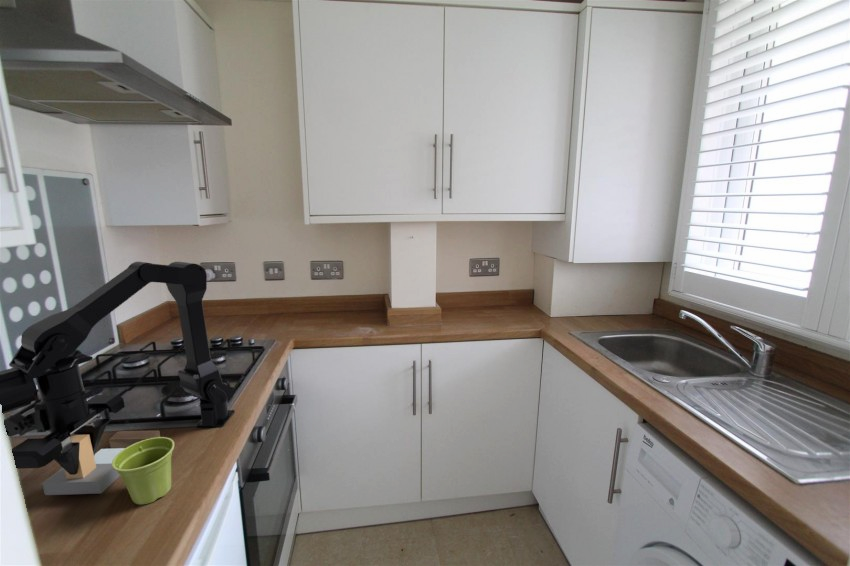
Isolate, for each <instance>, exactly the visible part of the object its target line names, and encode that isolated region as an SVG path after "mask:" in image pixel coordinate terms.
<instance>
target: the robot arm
mask: <svg viewBox="0 0 850 566" xmlns="http://www.w3.org/2000/svg"><path fill="white" fill-rule="evenodd" d="M206 271H207V270H206V269H205V267H203V266H201V265H200V264H197V263H192V262H185V261H173V262H171V263H169V264H160V263H159V264H158V263H152V262H151V263H150V262H145V261H134V262H132V263H130V265H128V267H126V268H125V269H124V270H123V271H121V272H120V273H119V274H117V275H116V276H114V277H113V278H112V279H109V281H107V282H106V283H104V284H102V286H100V287H99V288H97V289H96V290H95V291H93V292H91V293H90V294H89V295H88V296H86V297H85V298H83V299H82V300H80V301H79V302H78V303H76V304H75V305H73V306H71V307H69V308H68V309H67V308H66V310H63V311H60V312H58V313H57V312H56V313H55V314H51V315H49V316H47V317H45V318H43V319H42V320H39V321H37V322H35V323H33V324H31V325H30V326H28V327H27V328H26V329H25V330H24V331H23V332H22V334H21V338H20V339H21V340H20V343H21V345H20V347H19V348H18V350H17V352H16V353H15V354H14V356H13V358H12V359H11V361H10V362H9V364H8V366H9V367H10V368H8V369H4V370H0V404H1V405H2V413H3V414H2V415H4V414H7V413H10V412H12V411H16V410H18V409H21V408H24V407H28V406H29V405H31V404H32V402H34V401H36V397H37V396H38V393H39V397H40V401H39V402H37V403H35V404H34V406H33V408H30V409H27V411H26V410H25V412H23V413H22V414H21V413H20V412H19V413H18V412H17V413H15V414H13V415H9V416H8V417H6V418H5V419H3V420H4V425H5V428H6V432H7V435H8V436H7V435H6V436H7V437H9V438H10V437H13V436H17V435H18V436H20V437H23V436H24V435H26V434H27V433H29V432H32V431H35V430H36V433H45V432H47V431H49V433H48V434H47V435H45V436H44V437H41V438H40V437H38V438H37V437H36V438H27V439H25V440H24V441H22V442H20V443H19V444H17V445H16V446H14V447H13V448H11V449H12V453H13V456H14V460H15V465H16V468H17V469H20V470H21V469H40V468H43V467H45V466H47V465H49V464H50V463H51V462H52V461H55V462H56V463H57V464H59V466H61V468H64V469H65V470H66V471H67V472H68V473H69V474H70V475H75V474H77V472H78V467H79V447H80V443H79V442H73V443H72V441H71V436H72V435H90V440H91V445H92V449H93V454H94V455H95V454H96V453H97V449H98V447H99V443H100V442H101V439H102V437H103V434H104V433H105V432H104V431H105V430H106V428H107V425H108V424H109V423H110V421H111V419H110V418H103V416H102V415H101V413H102V412H103V411H105V410H108V413H110V414H114V415H116V414H117V413H118V412H120V411H121V410H123V408H125V406H126V405H125V401H124V400H125V399H124V398H123V397H122V396H120V394H96V395H94V396H93V393H92V389H85V387H84V383H83V379H82V374H81V369H80V365H81V364H85V363H87V362H90V361H93V359H94V358H93V356H91V355H88V354H86V353H84V352H83V351H81V350H79V349H78V348H79V347H80V346H81V345H82V344H83V343H84V342H85V341H86V340H87V339H88V337H89V335H90V333H91V332H92V330H93V328H95V326H96V325H97V324H98V323H99V322H100V321H102V320H103V319H104V318H105V317H107V316H108V315H109V314H111V313H112V312H113V311H115V310H116V309H118V307H120V306H121V305H122V304H124V303H126V302H127V301H129V299H130V298H132V297H133V296H134V295H135V294H137V293H138V292H139V291H141V290H142V289H143V288H144V287H146V286H147V285H149V284H150V283H161V284H165V285H166V287H167V290H168V292H169V293H170V295H171V296H172V298H173V299H174V301H175V302H176V305H177V310H178V317H179V322H180V328H181V333H182V340H183V345H184V346H183V347H184V351H185V352H184V353H185V359H186V364H185V365H184V368H183V369H181V370H178V371H177V374H178V377H179V379H180V381H179V387H181V388H183V390H184V391H185V392H186V393H188V394H191V395H192V397H194V398H197V399H199V408H200V416H201V419H202V421H200V420H199V421H200V422H199V421H198V422H197V423H196V427H199V428H201V427H202V428H204V427H206V428H207V427H210V428H211V427H223V426H225V425H226V424H227V422H228V421H229V420H230V419H231V418H232V416H233V415H234V414H235V411H236V410H235V409H229V404H228V403H229V402H228V400H229V399H231V398H233V396H234V391H235V388H234V387H232V386H231V385H228V384H225V383H223V379H222V376H221V372H220V370H219V368H218V367H217V366H216V364H215V363H214V362H213V359H212V357H211V351H210V346H209V339H208V334H207V326H206V319H205V313H204V306H203V299H204V296H205V294H206V292H207V288H208V287H207V286H208V285H207V284H208V283H207V281H208V275H207V272H206ZM35 382H36V383H35ZM92 396H93V397H92ZM90 397H91V398H90ZM88 398H89V399H88ZM17 469H16V470H17Z"/></svg>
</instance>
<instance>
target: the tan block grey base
mask: <svg viewBox="0 0 850 566" xmlns="http://www.w3.org/2000/svg"><path fill="white" fill-rule="evenodd" d="M71 441H72V443H73V442H79V443H80V447H79V467H78V472H77V474H75V475H70V474H69V473H68V472H67V471H66V470H65V469H64V468H63V467H61V468H60V469H59V470H57V471H56V472H54V473H53V474H52V475H50V476H49V477H48V478H47V479H46V480H44V481H42V483H41V484H42V489H43V492H44V495H45V496H59V495H61V496H63V495H87V494H88V495H91V494H92V495H93V494H94V495H95V494H103V492H105V491H106V489H108V487H109V486H111V485H112V484H113V483H114V482H115V481H116V480H118V478H119V477H120V476H121V475H120V474H119V473H118V472H117V471H116V470H114V469H113V467H112V463H111V464H96V463H95V459H94V454H93V449H92V445H91V440H90V435H75V434H71Z"/></svg>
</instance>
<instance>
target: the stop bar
mask: <svg viewBox="0 0 850 566" xmlns="http://www.w3.org/2000/svg"><path fill="white" fill-rule="evenodd" d="M155 437H161V433H160V430H119V431H117V432H116V433H115V434H114V435H112V436H111V437H109V439H108V441H109V442H108V443H109V446H110V449H114V448H127V447H129V446H130V445H132V444H135V443H137V442H140V441H142V440H146V439H150V438H155Z"/></svg>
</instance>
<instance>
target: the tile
mask: <svg viewBox="0 0 850 566" xmlns="http://www.w3.org/2000/svg"><path fill="white" fill-rule="evenodd" d="M124 449H125V448H114V449H111V448H100V449H99V450H98V451H96V452H95V455H94V459H95V463H96V464H111V463H112V461H113V459H114V458H115V456H116V455H117V454H118V453H119V452H121V451H122V450H124Z"/></svg>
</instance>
